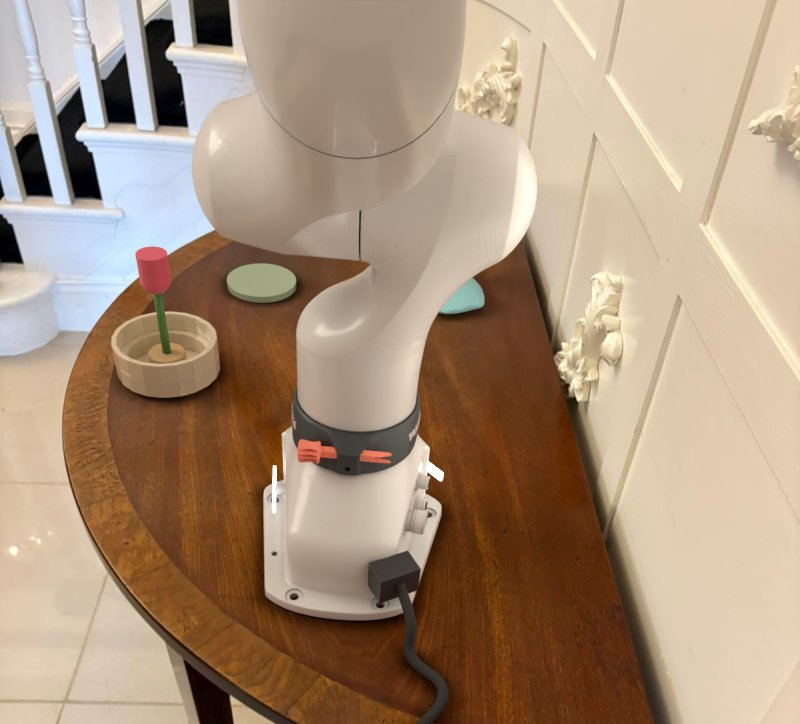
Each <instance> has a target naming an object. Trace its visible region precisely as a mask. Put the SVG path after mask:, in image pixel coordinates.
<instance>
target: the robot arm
mask: <svg viewBox="0 0 800 724" xmlns="http://www.w3.org/2000/svg"><path fill="white" fill-rule="evenodd" d="M235 6H236V13H237V21H238V28H239V33H240V38H241V42H242V46H243V51H244V55H245V60H246V63H247V67H248V69H249V74H250V76H251V80H252V82H253V85H254V88H255V90H254V91H252V92H249V93H247V94H243V95H241V96H237V97H233V98H229V99H225V100H221V101H219V102H218V103H217V104H215V106H214V107H213V108H212V109H211V110H210V112H209V113H208V114H207V116H206V117H205V118H204V120H203V122H202V123H201V126H200V127H199V130H198V132H197V134H196V137H195V141H194V144H193V149H192V157H191V176H192V177H191V179H192V184H193V188H194V193H195V196H196V199H197V202H198V204H199V207H200V208H201V211H202V213H203V214H204V216H205V218H206V220H207V221H208V222H209V224H210V225H211V227H212V228H213V229H214V230H215V231H216V233H218V235H219V236H221V238H225V239H228V240H231V241H234V242H237V243H240V244H243V245H247V246H250V247H254V248H257V249H261V250H264V251H269V252H273V253H276V254H281V255H289V256H298V257H299V256H300V257H311V258H323V259H333V260H343V261H345V260H346V261H355V262H356V261H357V262H363V263H367V264H369V265H368V266H367V267H366V268H365V269H364V270H363V271H361V272H360V273H358V274H356V275H355V276H353V277H351V278H347V279H345V280H342V281H340V282H338V283H335V284H333V285H331V286H329V287H327V288H325V289H324V290H322V291H321V292H319V293H318V294H317V295H316V296H315V297H314V298H312V299H311V301H309V302H308V303H307V304H306V306H305V307H304V309H303V310H302V312H301V313H300V315H299V318H298V321H297V324H296V328H295V342H296V343H295V344H296V386H295V387H294V390H293V395H292V396H293V398H292V403H291V423H292V425H291V426H290V427H288V428H287V429H285V431H283V432H282V433H281V450H282V451H281V452H282V470H283V471H282V473H283V479H282V480H279V481H277V465H272V483H271V484H268V485H267V486H266V487H265V488H264V490H263V496H262V507H263V508H262V519H263V520H262V521H263V525H262V526H263V527H262V528H263V575H264V576H263V579H264V580H263V582H264V584H263V585H264V587H263V588H264V595H265V597H266V598H267V599H268V600H269V601H271V602H272V603H274V604H276V605H277V606H279V607H281V608H284V609H286V610H288V611H291V612H293V613H297V614H301V615H305V616H310V617H314V618H322V619H331V620H340V621H377V620H382V619H384V620H385V619H388V618H392V617H396V616H400V615H402V614H403V618H404V624H405V636H404V641H403V652H404V656H405V658H406V661H407V663H408V664H409V665H410V667H411V668H412V669H413V670H414V671H415V672H417V673H418V674H419V675H421V676H422V677H424V678H425V679H427V680H428V681H430V682H431V683H432V684H433V685H434V687H435V688H436V690H437V691H436V692H437V695H436V698H435V701H434V703H433V704H432V706H430V708H429V709H428V710H427V711H426V712H425V713H424V714H423V715H422V716H421V717H420V718H419V720H418V721H417V722H416V724H432V723H433V722H434V721H435V720H436V719H437V718H438V717H439V716H440V715H441V713H443V711H444V710H445V708H446V706H447V704H448V702H449V688H448V684H447V682H446V680H445V679H444V677H443V676H442V675H441V674H440V673H439V672H437V671H436V670H435V669H433V668H432V667H430V666H429V665H427V664H426V663H425V662H423V661H422V660H421V659H420V658H419V656H418V655H417V653H416V650H415V642H416V639H417V632H418V631H417V630H418V628H417V619H416V614H415V610H414V607H413V603H414V601H415V598H416V595H417V591H419V587H420V583H421V579H422V576H423V573H424V570H425V567H426V564H427V561H428V558H429V555H430V552H431V550H432V549H431V548H432V546H433V543H434V539H435V537H436V534H437V531H438V527H439V524H440V522H441V518H442V515H443V514H442V512H443V511H442V504H441V502H439V501H438V499H436V498H435V497H433V496H431V495H430V494H427V492H426V491H428V490H429V486H430V482H431V476H433V478H435V479H436V480H438V481H439V482H442V481H443V480H444V474H445V473H444V472H443V470H441V469H440V468H438V467H436V466H435V464H433V463H432V462H430V461H429V460H430V451H431V450H430V448H431V447H430V446H429V445H428V444H427V443H426V441H424V440H423V438H421V436H420V435H419V434H418V432H419V426H420V421H421V413H422V412H421V397H420V394H419V391H418V386H419V380H420V379H419V378H420V372H421V366H422V362H423V361H422V360H423V356H424V351H425V347H426V342H427V338H428V335H429V332H430V329H431V327H432V325H433V322H434V321H435V319H436V318H437V315H438V314H439V313H438V312H439V311H440V310H441V308H442V307H443V305H444V304H445V303H446V302H447V301H448V299H449V298H450V297H451V296H452V295H453V294H454V293H455V292H456V291H457V290H458V289H459V288H460V287H461V286H462V285H463V284H465V283H466V282H467V281H468V280H469V279H471V278H474V277H476V276H477V275H478V274H480V273H481V272H483V271H485V270H487V269H489V268H490V267H492V266H494V265H496V264H498V263H500V262H501V261H503V260H504V259H505V258H507V257H508V256H509V255H510V254H511V253H512V252H513V251H514V250H515V248H517V246H518V245H519V243H520V242H521V241H522V239H523V238H524V236H525V235H526V233H527V231H528V229H529V227H530V225H531V223H532V220H533V217H534V214H535V210H536V205H537V199H538V198H537V197H538V176H537V170H536V166H535V165H536V164H535V161H534V158H533V155H532V152H531V151H530V149H529V146H528V144H527V142H526V140H525V139H524V138H523V136H522V134H520V132H519V130H518V129H516V128H515V127H511V126H509V125H505V124H503V123H499V122H497V121H494V120H491V119H488V118H486V117H483V116H479V115H475V114H472V113H470V112H466V111H462V110H459V109H454V108H455V101H456V97H457V91H458V90H457V89H458V86H459V79H460V76H461V75H460V74H461V69H462V62H463V55H464V48H465V41H466V28H467V27H466V25H467V0H235ZM428 473H429V474H430V475H431V476H430V475H429V476H428Z"/></svg>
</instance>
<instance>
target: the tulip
mask: <svg viewBox="0 0 800 724" xmlns="http://www.w3.org/2000/svg"><path fill="white" fill-rule="evenodd" d="M134 255H135V260H136V266H137V267H136V268H137V272H138V277H139V278H138V279H139V282H140V285H141V287H142V288H143V289H144V290H145V291H146V292H148V293H150V294H152V295H153V302H154V308H155V312H156V315H157V321H158V327H159V333H160V339H161V344H157V345H155V346H153V347H152V348H151V349H150V350H149V352H148V356H149V361H150V363H156V364H163V363H175V362H179V361H183V360H187V359H186V351H185V349H184V347H183V346H181V345H179V344H176V343H170V341H169V335H168V328H167V322H166V315H165V312H166V310H165V309H166V308H165V303H164V296H163V294H164V293H165V292H166V291H168V290H169V288H170V286H171V283H172V276H171V271H170V262H169V255H168V251H167V250H166V249H165V248H163V247H160V246H153V245H152V246H151V245H150V246H143V247H141V248H139V249H137V250H136V251H135V254H134Z"/></svg>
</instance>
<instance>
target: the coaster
mask: <svg viewBox="0 0 800 724" xmlns="http://www.w3.org/2000/svg"><path fill="white" fill-rule="evenodd" d="M226 287H227V290H228V292H229V293H230V294H231V295H232V296H233V297H235V298H237V299H239V300H242V301H246V302H250V303H258V304H266V303H275V302H279V301H283V300H285V299H287V298H289V297H290V296H292V295H293V294H294V293H295V292H296V290H297V277H296V275H295V274H294V272H292V271H291V270H290V269H288V268H286V267H284V266H281V265H278V264H273V263H266V262H265V263H264V262H263V263H261V262H259V263H249V264H245V265H244V264H243V265H241V266H237V267H236V268H234V269H233V270H231V271H230V272H229V273H228V274H227V277H226Z"/></svg>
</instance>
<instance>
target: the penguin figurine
mask: <svg viewBox="0 0 800 724" xmlns="http://www.w3.org/2000/svg"><path fill="white" fill-rule="evenodd" d="M485 300H486V299H485V294H484V291H483V288H482V286H481V284H479V283H478V281H477V280H475V278H474V277H472V278H471V279H469V280H468V281H467V282H466V283H465V284H463V285H462V286H461V287H460V288H459V289H458V290H457V291H456V292H455V293H454V294H453V295H452V296H451V297H450V298H449V299H448V301H447V302H446V303H445V304H444V305H443V307H442V308H441V310H440V311H439V312H438V314H443V315H455V314H456V315H457V314H461V313H466V312H471V311H475V310H478V309H481V308H483V307H484V306H485V304H486V303H485Z"/></svg>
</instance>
